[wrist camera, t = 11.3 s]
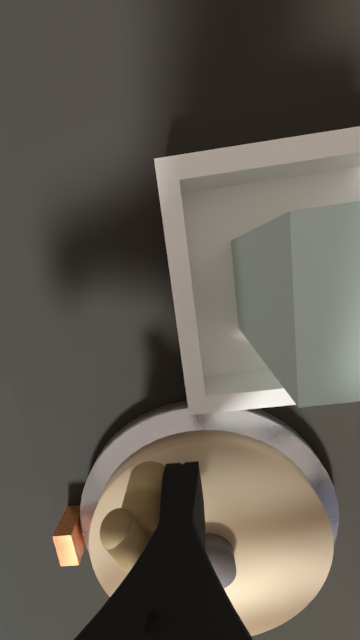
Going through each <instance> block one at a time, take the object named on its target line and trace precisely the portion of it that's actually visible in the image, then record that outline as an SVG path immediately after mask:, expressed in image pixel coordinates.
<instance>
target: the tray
mask: <svg viewBox="0 0 360 640" xmlns="http://www.w3.org/2000/svg"><path fill="white" fill-rule="evenodd" d="M154 162H155V170H156V177H157V184H158V192H159V199H160V206H161V214H162V221H163V228H164V235H165V243H166V250H167V257H168V265H169V272H170V279H171V287H172V294H173V301H174V308H175V316H176V323H177V330H178V338H179V345H180V352H181V360H182V367H183V374H184V382H185V389H186V396H187V403H188V411H189V415H197V414H207V413H217V412H227V411H237V410H247V409H257V408H267V407H277V406H287V405H296V404H295V402H294V401H293V400H292V398H291V397H290V396H289V394H288V393H287V392H286V390H285V389H284V388H283V386H282V385H281V384H280V382H279V381H278V380H277V378H276V377H275V376H274V374H273V373H272V372H271V370H270V369H269V368H268V366H267V365H266V364H265V363H264V361H263V360H262V359H261V357H260V356H259V355H258V353H257V352H256V351H255V349H254V348H253V347H252V345H251V344H250V343H249V341H248V340H247V339H246V337H245V336H244V335H243V333H242V332H241V331H240V329H239V326H238V315H237V304H236V293H235V281H234V270H233V259H232V248H231V240H233V239H235V238H237V237H239V236H241V235H243V234H245V233H247V232H249V231H251V230H253V229H255V228H257V227H259V226H261V225H263V224H265V223H267V222H269V221H271V220H273V219H275V218H277V217H279V216H281V215H283V214H285V213H287V212H289V211H293V210H300V209H307V208H314V207H321V206H328V205H335V204H342V203H349V202H356V201H360V126H358V127H352V128H345V129H339V130H333V131H326V132H320V133H314V134H307V135H301V136H295V137H288V138H282V139H276V140H269V141H263V142H257V143H250V144H244V145H238V146H231V147H225V148H219V149H212V150H206V151H200V152H193V153H187V154H181V155H174V156H168V157H162V158H155V159H154Z"/></svg>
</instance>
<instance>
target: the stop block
mask: <svg viewBox="0 0 360 640" xmlns="http://www.w3.org/2000/svg"><path fill="white" fill-rule="evenodd" d="M231 248H232V259H233V270H234V281H235V293H236V304H237V315H238V326H239V329H240V331H241V332H242V333H243V335H244V336H245V337H246V339H247V340H248V341H249V343H250V344H251V345H252V347H253V348H254V349H255V351H256V352H257V353H258V355H259V356H260V357H261V359H262V360H263V361H264V363H265V364H266V365H267V366H268V368H269V369H270V370H271V372H272V373H273V374H274V376H275V377H276V378H277V380H278V381H279V382H280V384H281V385H282V386H283V388H284V389H285V390H286V392H287V393H288V394H289V396H290V397H291V398H292V400H293V401H294V402H295V404H296V405H297V406H298V408H299V407H309V406H319V405H329V404H338V403H348V402H358V401H360V201H356V202H349V203H342V204H335V205H328V206H321V207H314V208H307V209H300V210H293V211H289V212H287V213H285V214H283V215H281V216H279V217H277V218H275V219H273V220H271V221H269V222H267V223H265V224H263V225H261V226H259V227H257V228H255V229H253V230H251V231H249V232H247V233H245V234H243V235H241V236H239V237H237V238H235V239H233V240H231Z"/></svg>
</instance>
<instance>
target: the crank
mask: <svg viewBox="0 0 360 640" xmlns="http://www.w3.org/2000/svg"><path fill="white" fill-rule="evenodd" d="M196 461H199V468H200V476H201V484H202V491H203V499H204V512H205V551H206V553H207V555H208V558H209V560H210V562H211V564H212V566H213V568H214V570H215V572H216V574H217V576H218V578H219V580H220V582H221V584H222V586H223V588H224V590H225V592H226V594H227V596H228V597H229V599H230V601H231V603H232V605H233V606H234V608H235V610H236V612H237V613H238V615H239V617H240V618H241V620H242V622H243V623H244V625H245V627H246V628H247V630H248V632H249V633H250V635H251V636H253V635H257V634H260V633H263V632H266V631H268V630H271V629H273V628H275V627H277V626H279V625H281V624H283V623H285V622H286V621H288V620H289V619H291V618H293V617H294V616H295V615H297V614H298V613H299V612H300V611H302V610H303V609H304V608H305V607H306V606H307V605H308V604H309V603H310V602H311V601H312V600H313V599H314V597H315V596H316V595H317V593H318V592H319V590H320V589H321V588H322V586H323V584H324V582H325V580H326V578H327V576H328V573H329V570H330V567H331V564H332V558H333V551H334V546H333V533H332V528H331V523H330V521H329V518H328V515H327V512H326V510H325V509H324V507H323V505H322V503H321V501H320V500H319V498H318V496H317V494H316V492H315V490H314V489H313V487H312V485H311V483H310V482H309V480H308V478H307V477H306V476H305V474H304V473H303V472H302V470H301V469H300V468H299V467H298V466H297V465H296V464H295V463H294V462H293V461H292V460H291V459H290V458H288V457H287V456H286V455H284V454H283V453H282V452H280V451H279V450H277V449H276V448H274V447H272V446H270V445H268V444H267V443H265V442H262V441H260V440H257V439H255V438H252V437H250V436H246V435H242V434H238V433H234V432H227V431H220V430H197V431H186V432H182V433H177V434H173V435H169V436H166V437H163V438H160V439H158V440H155V441H153V442H151V443H149V444H147V445H145V446H143V447H142V448H140V449H139V450H137V451H136V452H134V453H133V454H131V455H130V456H129V457H128V458H127V459H125V460H124V461H123V462H122V463H121V464H120V465H119V466H118V468H117V469H116V470H115V471H114V472H113V473H112V475H111V476H110V478H109V480H108V481H107V483H106V485H105V487H104V489H103V492H102V494H101V496H100V499H99V502H98V504H97V507H96V510H95V512H94V515H93V518H92V522H91V526H90V530H89V553H90V558H91V562H92V566H93V569H94V571H95V574H96V576H97V578H98V580H99V582H100V584H101V585H102V587H103V589H104V590H105V591H106V593H107V594H108V595H109V596H110V597H111V596H112V594H113V593H114V592H115V590H116V589H117V588H118V586H119V585H120V584H121V583H122V581H123V580H124V579H125V577H126V576H127V574H128V573H129V572H130V570H131V569H132V567H133V566H134V564H135V563H136V561H137V560H138V558H139V556H140V555H141V553H142V552H143V550H144V549H145V547H146V545H147V544H148V542H149V540H150V539H151V537H152V535H153V533H154V531H155V530H156V528H157V526H158V524H159V517H160V503H161V488H162V476H163V472H164V468H165V465H166V464H170V463H181V464H182V465H183V464H184V463H185V462H196Z"/></svg>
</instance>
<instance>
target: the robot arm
mask: <svg viewBox="0 0 360 640" xmlns="http://www.w3.org/2000/svg"><path fill="white" fill-rule="evenodd" d="M74 640H252V638H251V635H250V633H249V632H248V630H247V628H246V627H245V625H244V623H243V622H242V620H241V618H240V617H239V615H238V613H237V612H236V610H235V608H234V606H233V605H232V603H231V601H230V599H229V597H228V596H227V594H226V592H225V590H224V588H223V586H222V584H221V582H220V580H219V578H218V576H217V574H216V572H215V570H214V568H213V566H212V564H211V562H210V560H209V558H208V555H207V553H206V551H205V512H204V499H203V491H202V484H201V476H200V468H199V461H196V462H185V463H184V464H183V465H182V464H181V463H170V464H166V465H165V468H164V472H163V476H162V488H161V503H160V517H159V524H158V526H157V528H156V530H155V531H154V533H153V535H152V537H151V539H150V540H149V542H148V544H147V545H146V547H145V549H144V550H143V552H142V553H141V555H140V556H139V558H138V560H137V561H136V563H135V564H134V566H133V567H132V569H131V570H130V572H129V573H128V574H127V576H126V577H125V579H124V580H123V581H122V583H121V584H120V585H119V586H118V588H117V589H116V590H115V592H114V593H113V594H112V596H111V597H110V598H109V599H108V601H107V602H106V603H105V605H104V606H103V607H102V608H101V609H100V611H99V612H98V613H97V614H96V615H95V616H94V618H93V619H92V620H91V621H90V622H89V623H88V624H87V625H86V627H85V628H84V629H83V630H82V631H81V632H80V633H79V635H78V636H77V637H76V638H75V639H74Z"/></svg>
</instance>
